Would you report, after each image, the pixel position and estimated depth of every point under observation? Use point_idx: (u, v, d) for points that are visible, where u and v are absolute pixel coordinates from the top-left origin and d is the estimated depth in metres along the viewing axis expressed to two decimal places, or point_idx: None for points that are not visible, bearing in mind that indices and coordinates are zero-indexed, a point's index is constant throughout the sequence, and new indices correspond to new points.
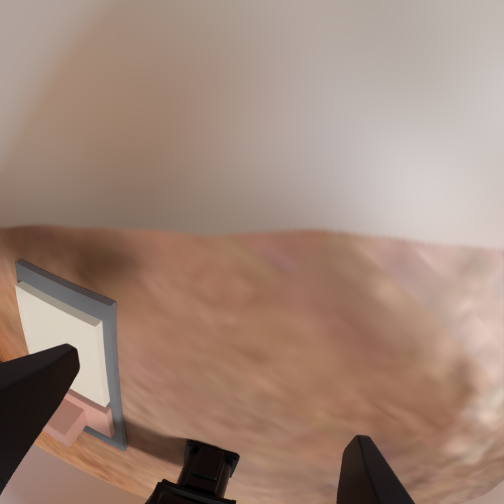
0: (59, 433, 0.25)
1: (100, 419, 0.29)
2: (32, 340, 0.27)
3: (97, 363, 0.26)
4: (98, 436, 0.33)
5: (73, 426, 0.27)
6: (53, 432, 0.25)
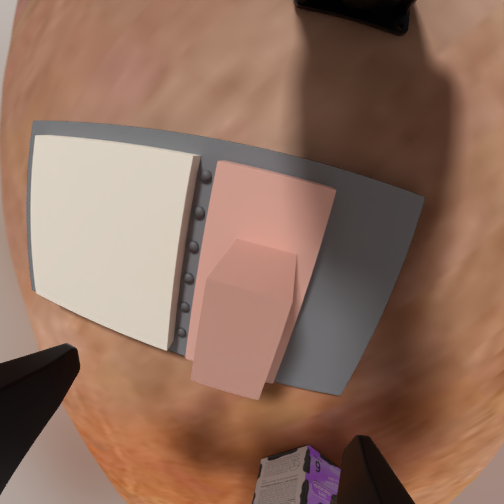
0: (213, 304, 0.11)
1: (253, 192, 0.14)
2: (101, 307, 0.18)
3: (83, 142, 0.15)
4: (388, 269, 0.15)
5: (230, 261, 0.12)
6: (229, 338, 0.11)
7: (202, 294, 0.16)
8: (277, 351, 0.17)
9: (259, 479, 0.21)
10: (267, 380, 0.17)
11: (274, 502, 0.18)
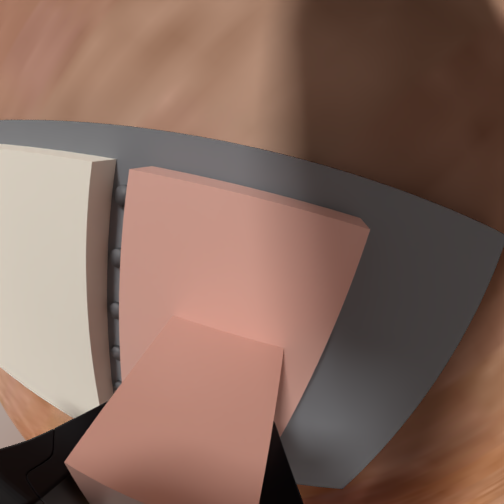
0: (95, 493, 0.03)
1: (196, 231, 0.07)
2: (24, 371, 0.11)
3: None
4: (436, 351, 0.08)
5: (134, 395, 0.05)
6: None
7: None
8: None
9: None
10: None
11: None
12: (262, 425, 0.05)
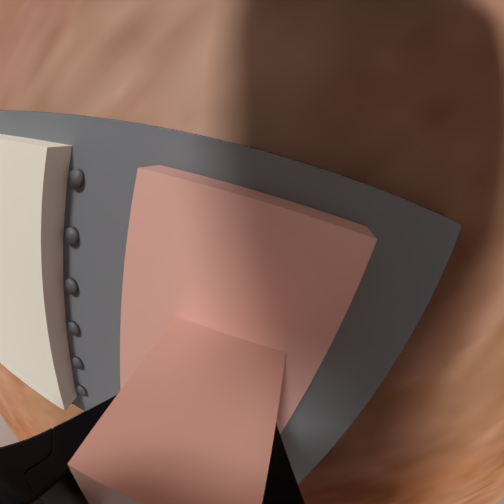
0: (96, 493, 0.03)
1: (203, 233, 0.07)
2: None
3: None
4: (381, 347, 0.08)
5: (138, 397, 0.05)
6: None
7: None
8: None
9: None
10: None
11: None
12: (264, 429, 0.05)
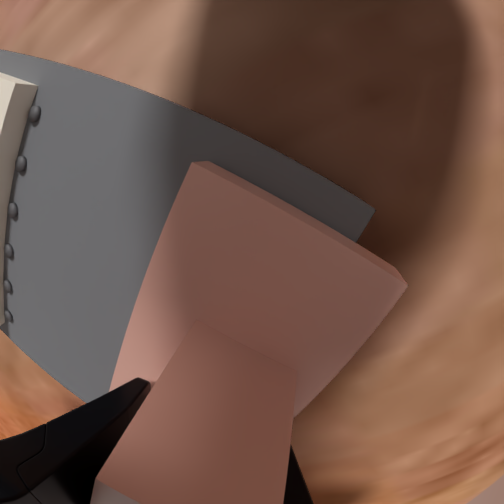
0: (113, 502, 0.03)
1: (248, 246, 0.07)
2: None
3: None
4: None
5: (164, 406, 0.05)
6: None
7: (127, 374, 0.09)
8: None
9: None
10: None
11: None
12: (281, 447, 0.05)
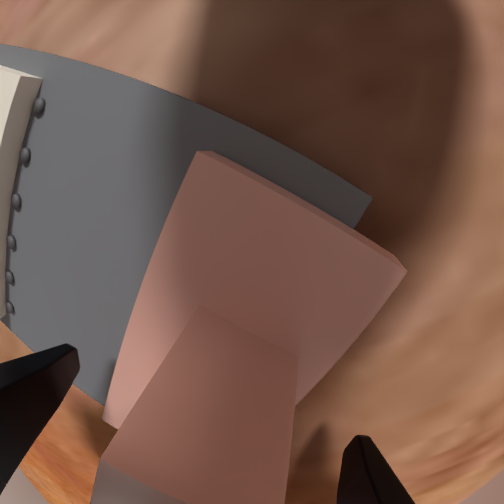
0: (117, 485, 0.03)
1: (251, 232, 0.07)
2: None
3: None
4: None
5: (169, 388, 0.05)
6: None
7: (130, 363, 0.09)
8: None
9: None
10: None
11: None
12: (284, 430, 0.05)
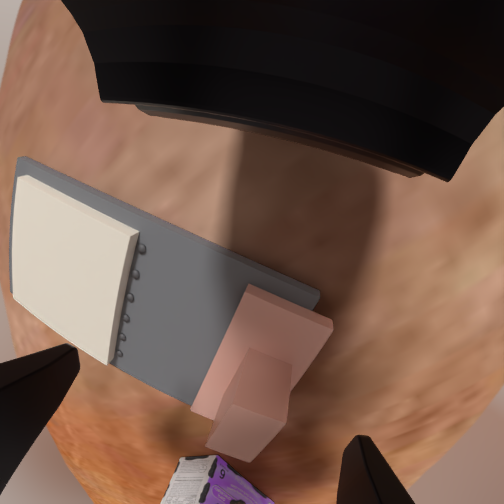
0: (233, 415, 0.14)
1: (269, 320, 0.18)
2: (61, 323, 0.21)
3: (52, 199, 0.18)
4: None
5: (246, 380, 0.16)
6: (239, 432, 0.14)
7: (213, 375, 0.20)
8: None
9: (175, 473, 0.26)
10: None
11: (181, 494, 0.22)
12: (286, 392, 0.16)
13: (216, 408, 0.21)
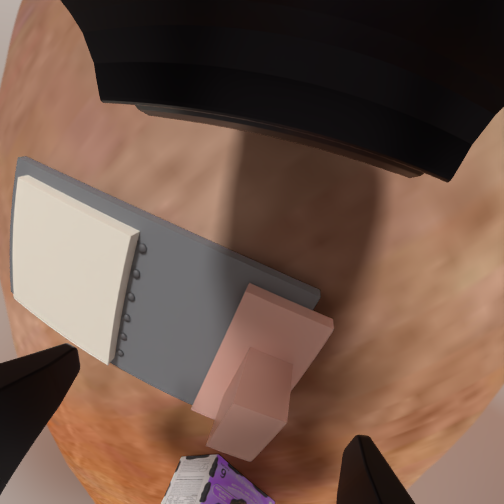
0: (234, 414, 0.14)
1: (269, 319, 0.18)
2: (62, 323, 0.21)
3: (53, 198, 0.18)
4: None
5: (247, 380, 0.16)
6: (240, 432, 0.14)
7: (214, 374, 0.20)
8: None
9: (176, 473, 0.26)
10: None
11: (182, 493, 0.22)
12: (287, 391, 0.16)
13: (217, 407, 0.21)
